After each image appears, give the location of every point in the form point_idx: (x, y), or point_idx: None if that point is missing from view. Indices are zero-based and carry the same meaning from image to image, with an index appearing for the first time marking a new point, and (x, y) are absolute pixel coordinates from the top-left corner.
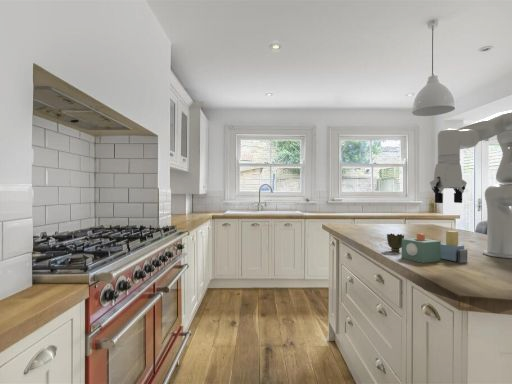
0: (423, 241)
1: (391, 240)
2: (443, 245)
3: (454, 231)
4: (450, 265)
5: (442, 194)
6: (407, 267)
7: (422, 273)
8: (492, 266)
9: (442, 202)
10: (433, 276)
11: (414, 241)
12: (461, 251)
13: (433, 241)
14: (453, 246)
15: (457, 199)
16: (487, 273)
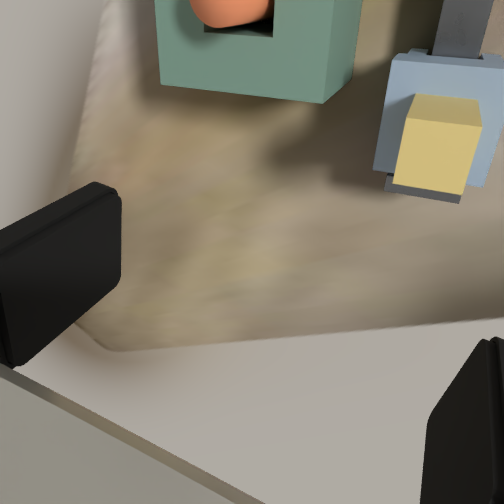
0: (198, 51)
1: None
2: (388, 87)
3: (448, 170)
4: (294, 161)
5: (20, 357)
6: (94, 83)
7: (87, 165)
8: (456, 275)
9: (109, 284)
10: None
11: (157, 8)
12: (394, 190)
13: (261, 86)
14: (374, 160)
15: (447, 424)
16: (291, 289)
